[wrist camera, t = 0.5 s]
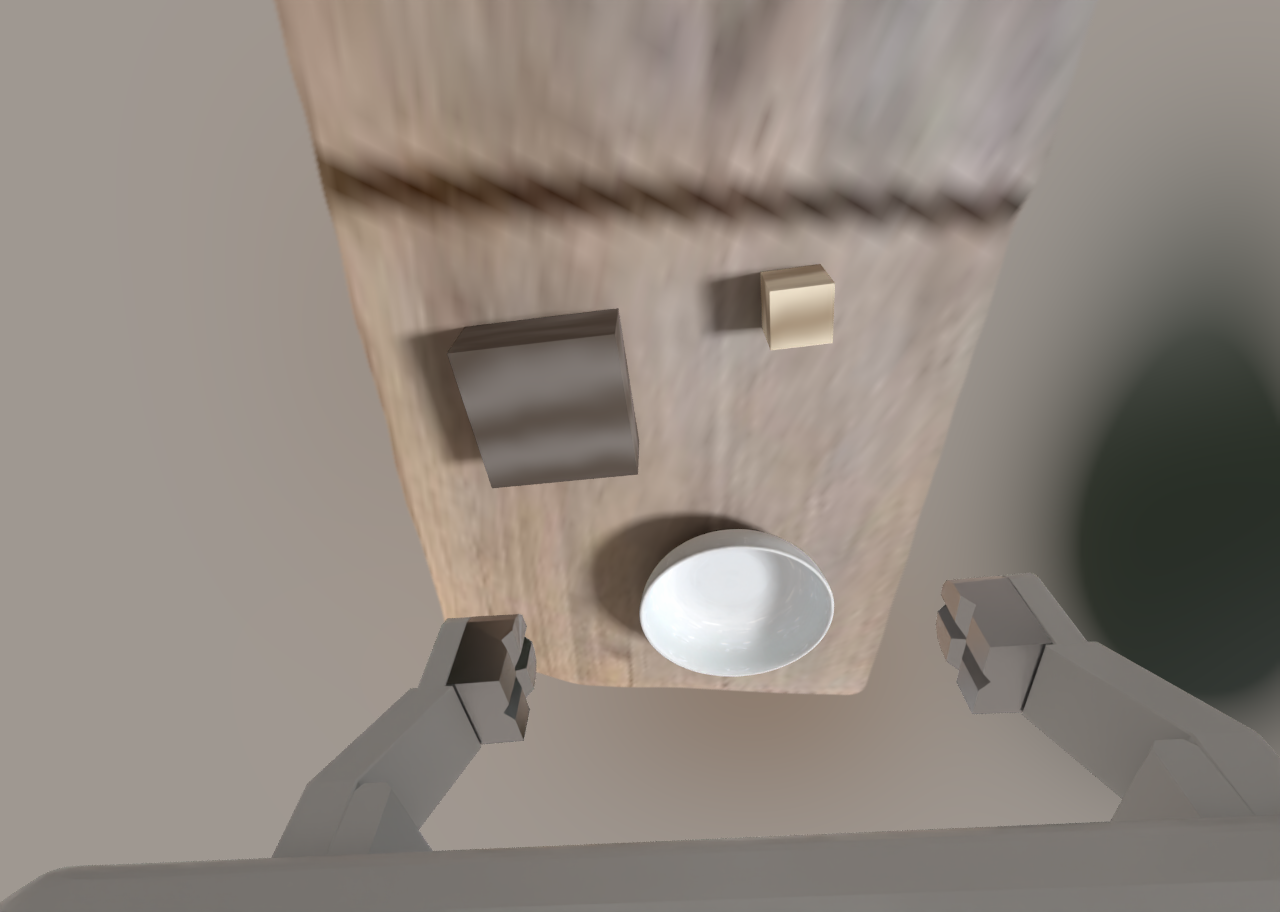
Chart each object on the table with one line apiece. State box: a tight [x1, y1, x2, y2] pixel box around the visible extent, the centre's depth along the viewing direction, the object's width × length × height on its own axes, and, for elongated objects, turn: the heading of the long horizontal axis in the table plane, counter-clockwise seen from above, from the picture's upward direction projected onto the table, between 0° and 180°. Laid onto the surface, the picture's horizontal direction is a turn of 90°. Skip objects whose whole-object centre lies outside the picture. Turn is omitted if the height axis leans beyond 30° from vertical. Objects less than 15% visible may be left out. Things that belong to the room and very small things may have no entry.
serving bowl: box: [639, 529, 834, 676], centre depth 69 cm, size 21×21×7 cm
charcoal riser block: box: [447, 309, 639, 488], centre depth 56 cm, size 14×14×6 cm
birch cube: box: [760, 264, 835, 350], centre depth 51 cm, size 5×5×5 cm
